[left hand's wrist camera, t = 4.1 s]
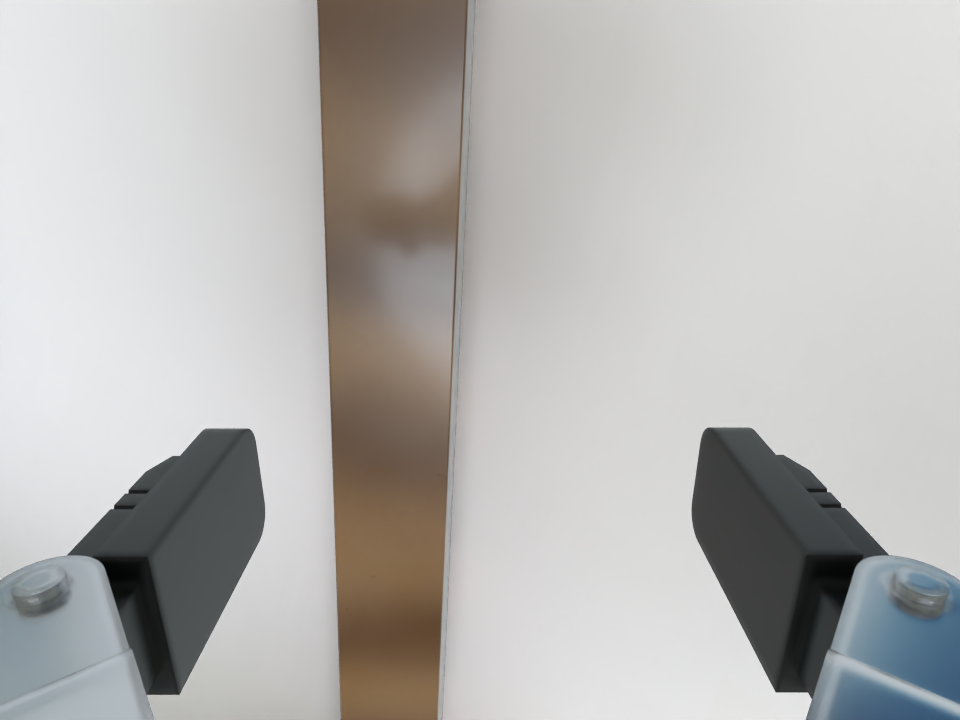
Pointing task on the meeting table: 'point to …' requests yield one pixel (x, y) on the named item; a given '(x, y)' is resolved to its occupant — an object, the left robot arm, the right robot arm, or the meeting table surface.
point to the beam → (394, 333)
